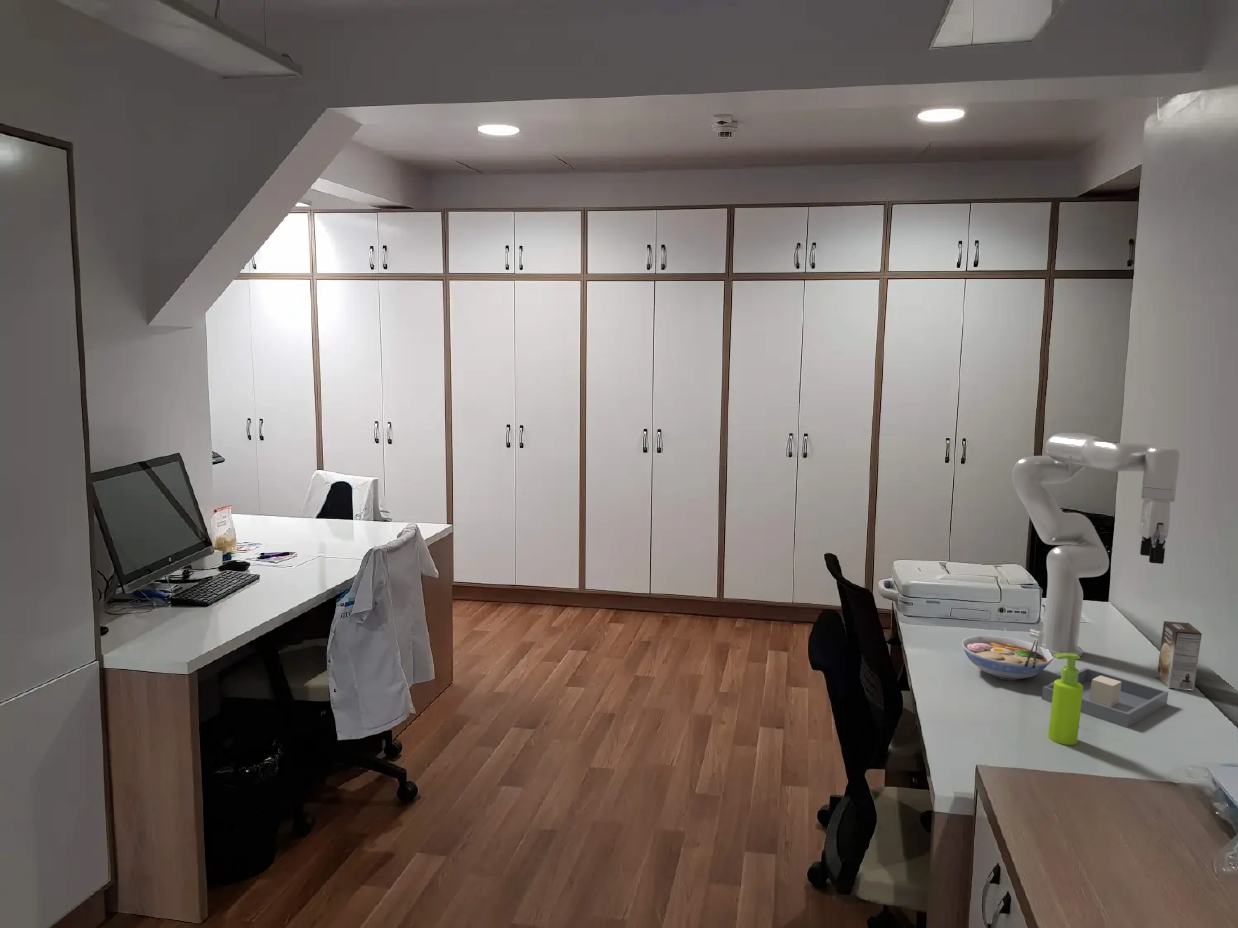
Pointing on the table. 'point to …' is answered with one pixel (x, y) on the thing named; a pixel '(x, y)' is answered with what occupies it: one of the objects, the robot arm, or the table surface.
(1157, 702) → the parts tray
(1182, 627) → the coffee box
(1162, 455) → the robot arm
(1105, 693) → the tan wooden cube
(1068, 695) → the soap dispenser
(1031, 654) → the ramen bowl
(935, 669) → the table surface
